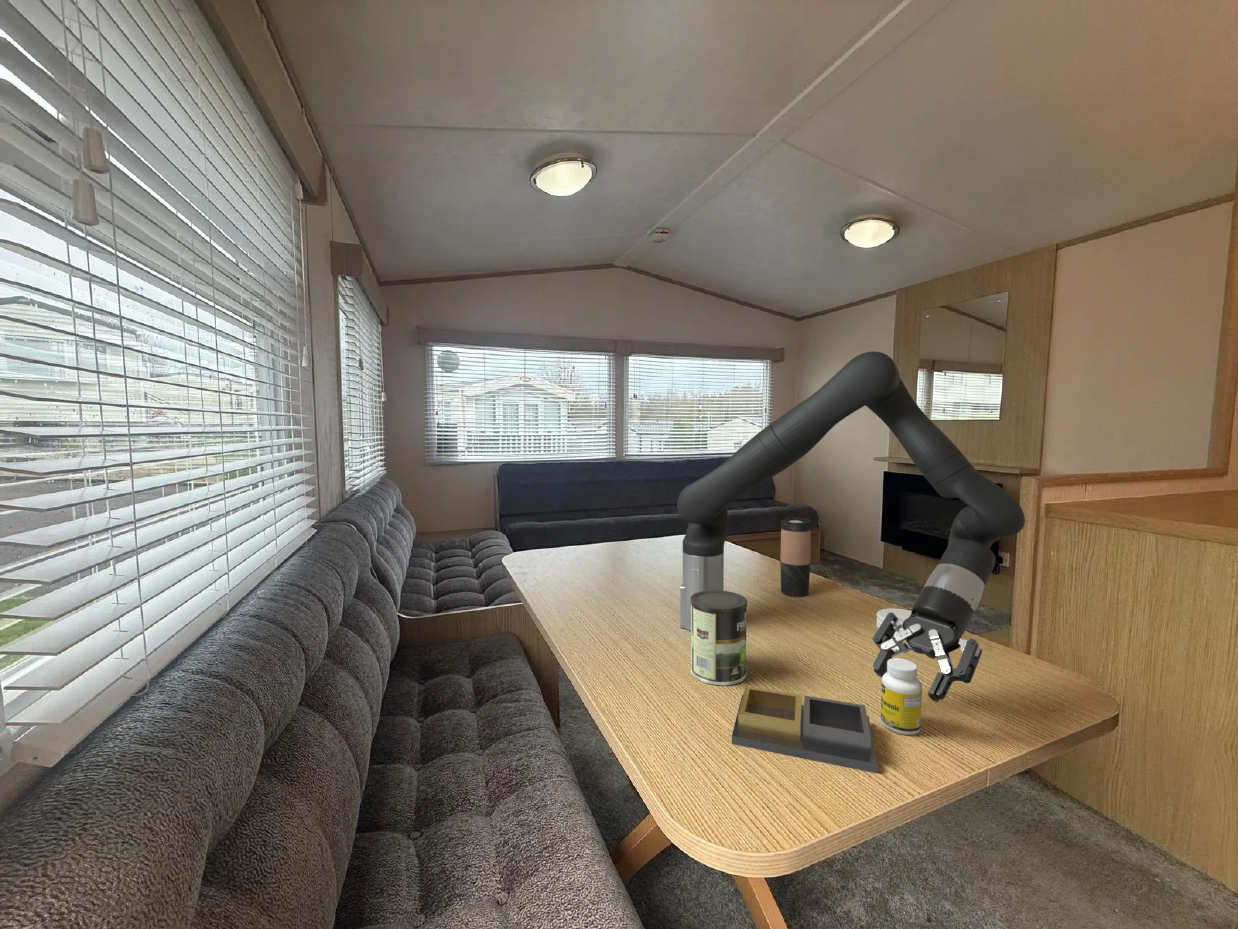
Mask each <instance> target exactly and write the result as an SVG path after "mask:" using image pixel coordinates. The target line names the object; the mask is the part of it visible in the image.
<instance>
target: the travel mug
mask: <svg viewBox="0 0 1238 929" xmlns="http://www.w3.org/2000/svg"><path fill="white" fill-rule="evenodd" d="M811 524H812V523H811V520H810V519H808V518H802V517H786V518H785V519H784V520H783V519H781V522H780V527H781V528H780V530H781V531H780V557H779V558H780V591H781V594H783V595H786V596H787V597H792V596H793V598H801V597H802V598H804V597H808V596H809V593H810V592H809V590H810V576H811V575H810V574H811V573H810V572H811V529H812V528H811V527H812V525H811ZM803 596H804V597H803Z"/></svg>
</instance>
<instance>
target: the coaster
mask: <svg viewBox="0 0 1238 929" xmlns="http://www.w3.org/2000/svg"><path fill="white" fill-rule="evenodd" d="M890 612H892V613H894V614H895V616H896V617H898V618H901V619H903V620H906V619H907V618H909V617H910V615H911V612H912V610H908V609H901V608H882V609H880V610H878V611H877V612H876V618H875V619H876V628H877V630H878V629H879V627H880V626H881V624H882V622H883V621H884V619H885V618H886V616H887V614H888V613H890ZM902 631H904V629H903V628H900V630H899V631H896V632H895V634H894V635H896V634H898V633H900V632H902ZM894 635H893V636H894Z"/></svg>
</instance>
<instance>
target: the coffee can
mask: <svg viewBox="0 0 1238 929" xmlns="http://www.w3.org/2000/svg"><path fill="white" fill-rule="evenodd" d="M690 602H691V631H690V637H691V638H690V642H691V643H690V646H691V648H690V651H691V652H690V656H691V657H690V658H691V660H690V662H691V664H690V667H691V668H690V673H691V675H692V676H693V678H695V679H696V680H698V681H700V682H702V683H705V684H708V685H711V686H725V687H726V686H734V685H738V684H739V683H741V682H743V681H744V680H745V679H746V678H747V608H748V607H747V606H748V598H746V597H745V596H743V595H742V594H740V593H736V592H733V591H728V590H724V591H721V590H709V591H701V592H697V593H695V594H693V595H692V596H691V597H690Z"/></svg>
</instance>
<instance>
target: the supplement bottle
mask: <svg viewBox="0 0 1238 929" xmlns="http://www.w3.org/2000/svg"><path fill="white" fill-rule="evenodd" d="M880 692H881V694H880V698H881V699H880V721H881V724H882V725H883V726H884V727H885V728H886V729H888V730H889V731H891V732H894V733H896V734H898V735H905V736H912V735H913V736H914V735H917V734H919V733H920V731H921V728H922V708H923V707H922V704H923V703H922V702H923V701H922V700H923V699H922V698H923V684H922V682H921V680H920V679H919V678H918V665H917V664H916V663H914V662H913V661H910V660H908V659H903V658H897V657H896V658H893V657H892V659H889V660H888V661H887V672H886V673H885V674H884V675H883V677H881V691H880Z"/></svg>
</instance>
